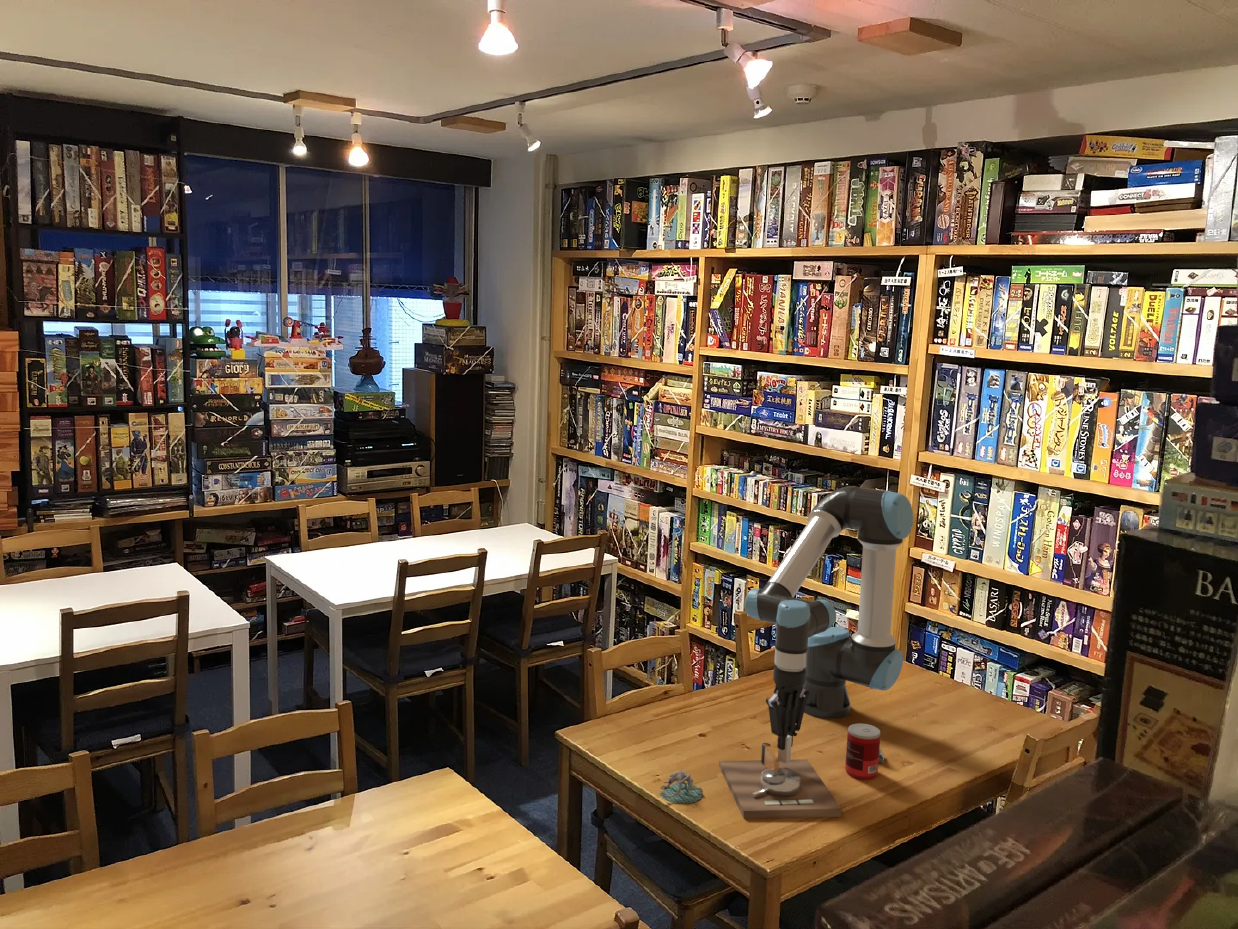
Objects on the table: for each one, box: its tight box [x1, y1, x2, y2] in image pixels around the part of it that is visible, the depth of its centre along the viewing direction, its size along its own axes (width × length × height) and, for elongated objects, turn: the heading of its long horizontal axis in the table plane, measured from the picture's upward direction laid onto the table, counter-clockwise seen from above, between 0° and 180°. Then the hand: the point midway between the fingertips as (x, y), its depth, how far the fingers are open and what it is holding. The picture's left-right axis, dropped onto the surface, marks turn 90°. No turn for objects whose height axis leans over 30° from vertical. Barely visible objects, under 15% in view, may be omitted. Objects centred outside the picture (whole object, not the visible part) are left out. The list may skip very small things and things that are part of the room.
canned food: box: [844, 723, 881, 781], centre depth 231 cm, size 8×8×11 cm
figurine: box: [659, 768, 704, 805], centre depth 217 cm, size 11×12×6 cm
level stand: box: [718, 758, 842, 820], centre depth 220 cm, size 24×22×2 cm
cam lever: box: [752, 742, 801, 797], centre depth 222 cm, size 18×12×5 cm
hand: (784, 760), depth 228 cm, fingers closed
